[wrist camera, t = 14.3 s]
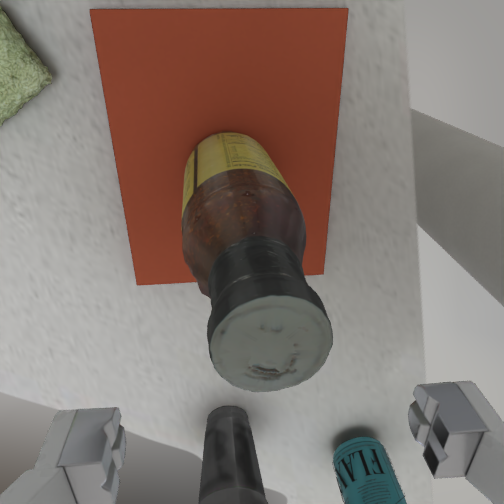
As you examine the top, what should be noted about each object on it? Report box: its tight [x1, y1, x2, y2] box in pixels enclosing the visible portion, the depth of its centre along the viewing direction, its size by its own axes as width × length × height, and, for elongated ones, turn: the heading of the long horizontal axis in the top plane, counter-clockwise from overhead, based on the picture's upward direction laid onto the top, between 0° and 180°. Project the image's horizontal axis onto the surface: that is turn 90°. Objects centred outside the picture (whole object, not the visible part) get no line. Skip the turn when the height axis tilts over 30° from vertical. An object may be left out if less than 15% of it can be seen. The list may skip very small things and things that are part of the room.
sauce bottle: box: [181, 131, 333, 392], centre depth 22 cm, size 6×6×20 cm
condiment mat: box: [90, 8, 348, 285], centre depth 31 cm, size 16×20×1 cm
